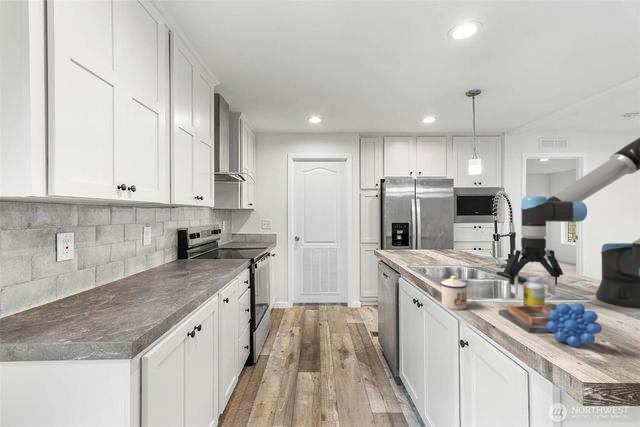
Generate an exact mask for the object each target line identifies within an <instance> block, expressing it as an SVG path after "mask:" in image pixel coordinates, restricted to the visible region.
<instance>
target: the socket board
mask: <svg viewBox="0 0 640 427" xmlns="http://www.w3.org/2000/svg"><path fill="white" fill-rule="evenodd" d="M552 310H553V309H552V308H550V307H548V306H546V305H545V306H544V305H524V304H523V305H520V304H519V305H507V309H498V315H499V316H501V317H503V318H504V319H506V320H508V321H509V322H511V323H513V324H514V325H516V326H517V327H519V328H521V329H522V330H524V331H526V332H527V333H529V334H554V333H555V332H556V331H555V332H552V331H549V330H548V329H547V328H546V324H547V323H548V322H549V321H551V320H549V319H548V317H547V314H548V312H549V311H552Z"/></svg>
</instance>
